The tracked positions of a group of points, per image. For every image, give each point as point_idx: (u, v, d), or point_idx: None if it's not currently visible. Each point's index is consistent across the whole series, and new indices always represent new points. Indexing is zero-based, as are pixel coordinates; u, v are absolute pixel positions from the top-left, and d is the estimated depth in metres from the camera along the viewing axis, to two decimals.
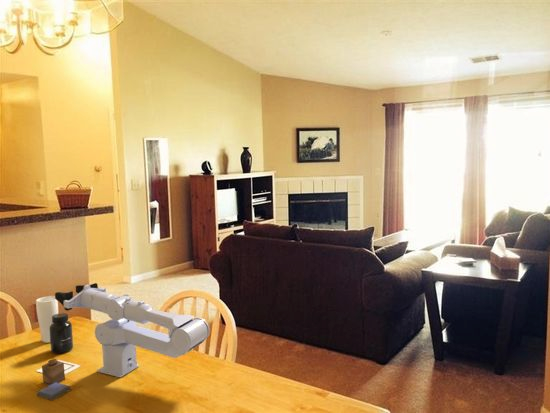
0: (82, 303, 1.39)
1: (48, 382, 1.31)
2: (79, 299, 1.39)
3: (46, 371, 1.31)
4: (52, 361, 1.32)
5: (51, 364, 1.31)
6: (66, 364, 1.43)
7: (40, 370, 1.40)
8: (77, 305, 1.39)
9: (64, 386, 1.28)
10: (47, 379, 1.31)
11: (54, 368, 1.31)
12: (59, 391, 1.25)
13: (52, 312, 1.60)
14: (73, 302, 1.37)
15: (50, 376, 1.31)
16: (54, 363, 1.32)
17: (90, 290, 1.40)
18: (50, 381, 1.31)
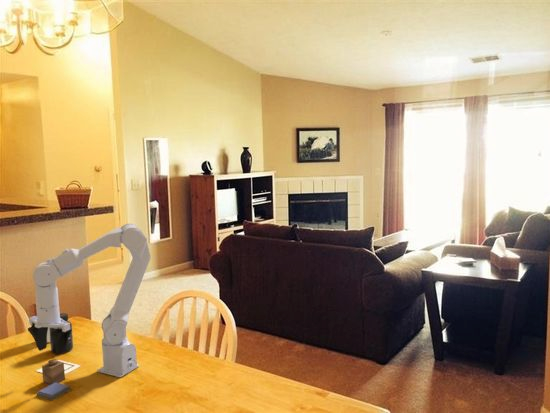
0: (57, 318, 1.30)
1: (48, 382, 1.31)
2: (55, 323, 1.29)
3: (46, 371, 1.31)
4: (52, 361, 1.32)
5: (51, 364, 1.31)
6: (66, 364, 1.43)
7: (40, 370, 1.40)
8: (61, 322, 1.31)
9: (64, 386, 1.28)
10: (47, 379, 1.31)
11: (54, 368, 1.31)
12: (59, 391, 1.25)
13: None
14: (61, 323, 1.29)
15: (50, 376, 1.31)
16: (54, 363, 1.32)
17: (40, 319, 1.28)
18: (50, 381, 1.31)
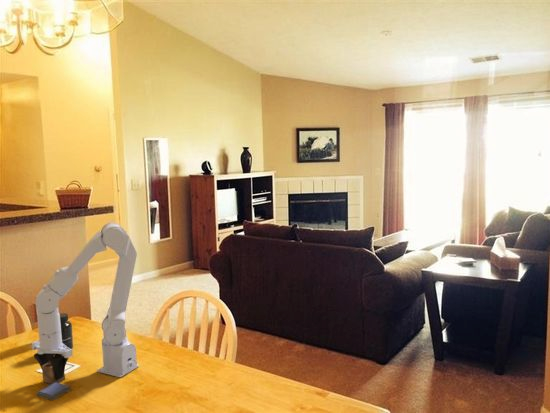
0: (59, 344, 1.31)
1: (48, 382, 1.31)
2: (57, 348, 1.30)
3: (46, 371, 1.31)
4: None
5: (51, 364, 1.31)
6: (66, 364, 1.43)
7: (40, 370, 1.40)
8: (64, 347, 1.32)
9: (64, 386, 1.28)
10: (47, 378, 1.31)
11: None
12: (59, 391, 1.25)
13: None
14: (63, 350, 1.30)
15: (50, 376, 1.31)
16: None
17: (42, 345, 1.29)
18: (50, 381, 1.31)
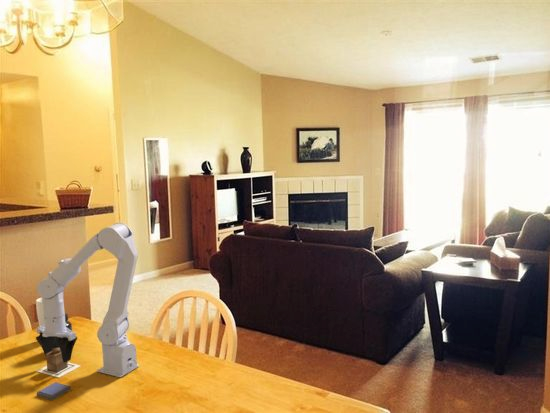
0: (63, 328, 1.39)
1: (52, 369, 1.39)
2: (61, 332, 1.38)
3: (50, 359, 1.38)
4: (56, 349, 1.39)
5: (55, 352, 1.39)
6: None
7: (40, 370, 1.40)
8: (67, 331, 1.39)
9: (64, 386, 1.28)
10: (51, 366, 1.39)
11: (58, 356, 1.38)
12: (59, 391, 1.25)
13: None
14: (67, 333, 1.37)
15: (54, 364, 1.38)
16: (58, 351, 1.39)
17: (47, 328, 1.37)
18: (54, 368, 1.38)
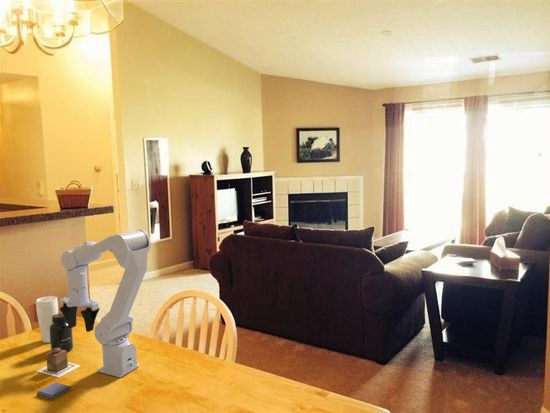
0: (86, 299, 1.44)
1: (52, 369, 1.39)
2: (84, 302, 1.43)
3: (50, 359, 1.38)
4: (56, 349, 1.39)
5: (55, 352, 1.39)
6: None
7: (40, 370, 1.40)
8: (90, 302, 1.45)
9: (64, 386, 1.28)
10: (51, 366, 1.39)
11: (58, 356, 1.38)
12: (59, 391, 1.25)
13: (52, 312, 1.60)
14: (90, 303, 1.43)
15: (54, 364, 1.38)
16: (58, 351, 1.39)
17: (71, 299, 1.42)
18: (54, 368, 1.38)
